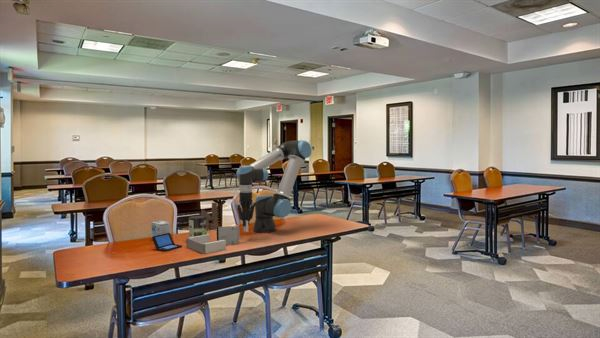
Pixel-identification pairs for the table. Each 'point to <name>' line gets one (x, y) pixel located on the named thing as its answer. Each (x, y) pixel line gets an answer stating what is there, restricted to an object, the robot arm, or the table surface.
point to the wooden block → (208, 217)
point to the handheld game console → (164, 242)
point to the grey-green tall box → (197, 226)
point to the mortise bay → (205, 244)
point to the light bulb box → (160, 228)
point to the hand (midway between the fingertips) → (246, 231)
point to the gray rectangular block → (228, 234)
